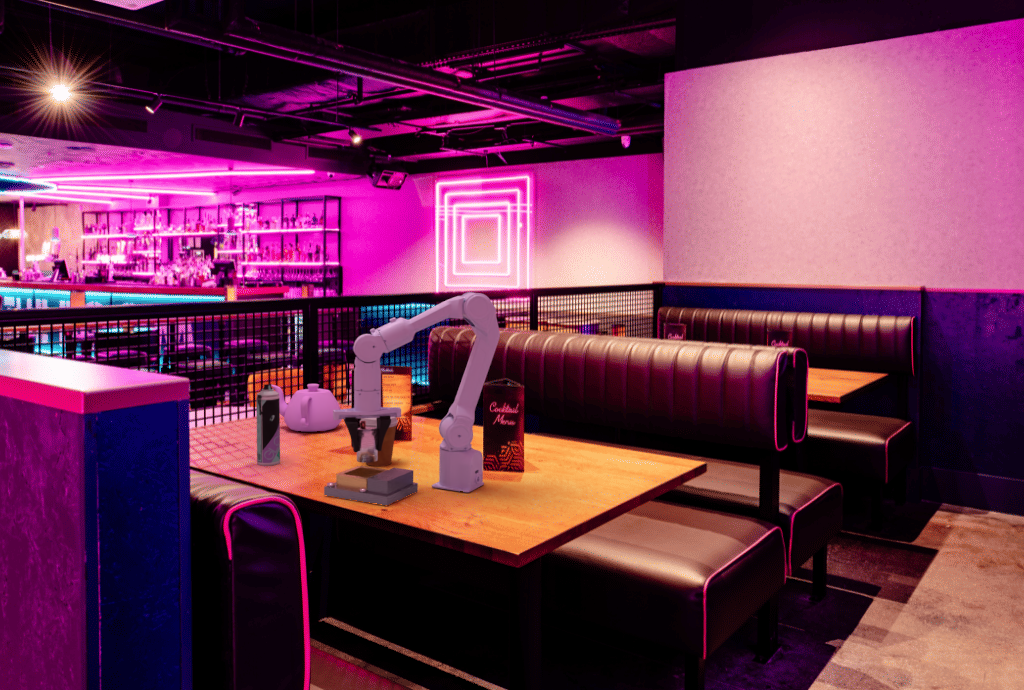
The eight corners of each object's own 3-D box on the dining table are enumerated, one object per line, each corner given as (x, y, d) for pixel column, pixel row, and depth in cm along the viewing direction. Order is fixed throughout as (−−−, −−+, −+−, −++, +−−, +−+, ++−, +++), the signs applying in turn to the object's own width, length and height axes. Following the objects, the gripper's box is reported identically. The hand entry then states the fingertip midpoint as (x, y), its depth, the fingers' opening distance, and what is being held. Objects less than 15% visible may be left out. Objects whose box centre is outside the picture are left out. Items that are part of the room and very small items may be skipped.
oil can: (381, 459, 168) (381, 421, 168) (368, 463, 164) (368, 424, 164) (366, 457, 171) (366, 419, 170) (352, 460, 167) (352, 422, 166)
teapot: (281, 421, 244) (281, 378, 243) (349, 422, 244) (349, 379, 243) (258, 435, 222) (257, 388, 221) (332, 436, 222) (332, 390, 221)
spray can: (273, 466, 187) (272, 386, 185) (252, 465, 188) (251, 384, 186) (284, 461, 192) (283, 382, 191) (264, 459, 193) (263, 382, 192)
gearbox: (417, 491, 168) (417, 469, 167) (386, 506, 157) (386, 482, 156) (357, 482, 174) (357, 461, 174) (324, 495, 163) (324, 473, 163)
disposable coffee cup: (361, 468, 186) (361, 420, 185) (358, 459, 195) (358, 413, 194) (399, 467, 189) (400, 419, 188) (395, 457, 198) (395, 412, 197)
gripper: (397, 385, 172) (396, 444, 173) (331, 387, 167) (331, 448, 168) (403, 390, 165) (402, 451, 167) (335, 392, 160) (335, 455, 162)
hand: (367, 450), depth 167 cm, fingers closed on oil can, 4 cm apart
